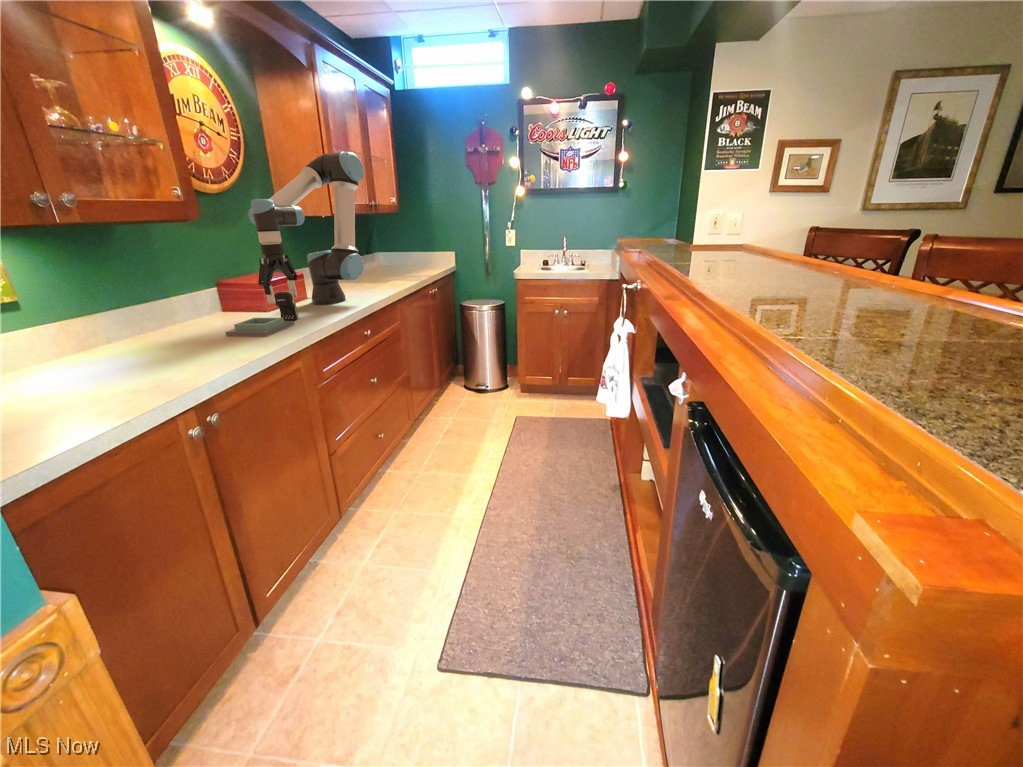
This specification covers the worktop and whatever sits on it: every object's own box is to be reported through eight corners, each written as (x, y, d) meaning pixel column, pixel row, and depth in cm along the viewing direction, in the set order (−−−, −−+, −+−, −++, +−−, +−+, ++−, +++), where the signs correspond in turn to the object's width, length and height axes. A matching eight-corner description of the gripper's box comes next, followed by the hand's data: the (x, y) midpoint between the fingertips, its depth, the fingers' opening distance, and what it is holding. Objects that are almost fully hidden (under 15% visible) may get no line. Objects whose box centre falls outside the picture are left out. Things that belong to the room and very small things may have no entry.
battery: (278, 321, 174) (271, 292, 170) (284, 319, 178) (277, 291, 173) (293, 321, 173) (287, 292, 169) (299, 319, 176) (293, 290, 172)
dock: (257, 324, 170) (254, 315, 169) (294, 324, 168) (292, 315, 166) (226, 336, 156) (223, 326, 154) (266, 336, 153) (264, 326, 152)
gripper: (283, 241, 176) (294, 294, 184) (237, 246, 153) (252, 306, 161) (300, 241, 175) (310, 294, 183) (257, 245, 152) (270, 306, 160)
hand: (283, 299), depth 172 cm, fingers open, 13 cm apart
